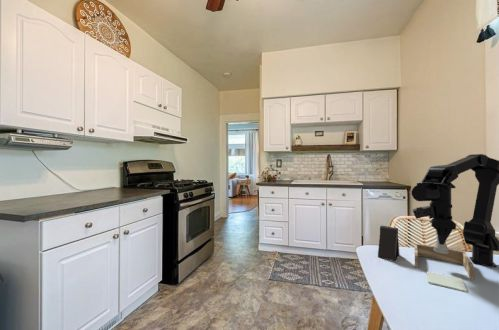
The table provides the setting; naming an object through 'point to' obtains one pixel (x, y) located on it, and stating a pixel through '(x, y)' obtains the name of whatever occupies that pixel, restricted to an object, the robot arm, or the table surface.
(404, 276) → the table surface
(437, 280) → the sage mat
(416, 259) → the open box
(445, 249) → the rook chess piece
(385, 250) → the phone stand
